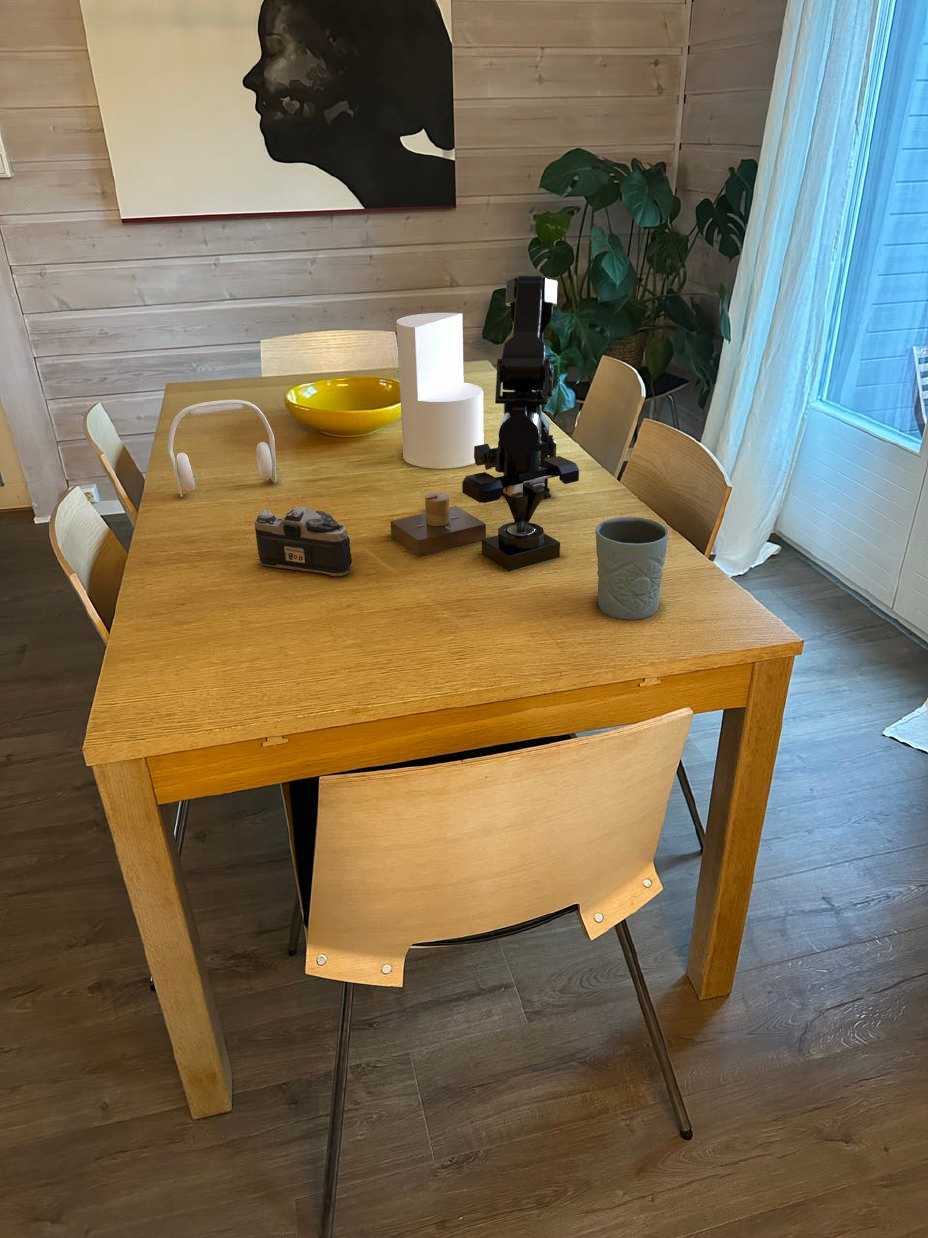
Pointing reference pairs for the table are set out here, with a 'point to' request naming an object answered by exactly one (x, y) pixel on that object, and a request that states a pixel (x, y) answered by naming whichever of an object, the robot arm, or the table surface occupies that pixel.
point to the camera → (303, 542)
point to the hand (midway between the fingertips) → (520, 529)
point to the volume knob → (437, 509)
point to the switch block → (520, 548)
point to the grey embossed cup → (630, 566)
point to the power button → (523, 533)
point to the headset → (263, 453)
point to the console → (437, 532)
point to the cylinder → (437, 393)
